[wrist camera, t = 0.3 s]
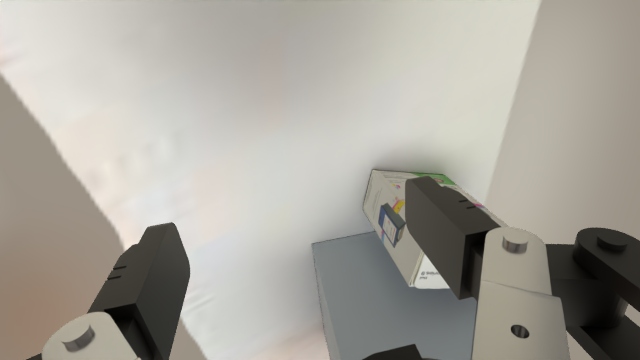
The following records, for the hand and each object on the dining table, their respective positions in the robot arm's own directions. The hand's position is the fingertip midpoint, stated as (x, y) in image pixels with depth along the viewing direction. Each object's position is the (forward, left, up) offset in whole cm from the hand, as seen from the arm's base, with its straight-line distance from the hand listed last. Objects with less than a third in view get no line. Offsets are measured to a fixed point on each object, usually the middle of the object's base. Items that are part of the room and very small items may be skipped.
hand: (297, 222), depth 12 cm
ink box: (+12, +12, -19) cm, 25 cm away
